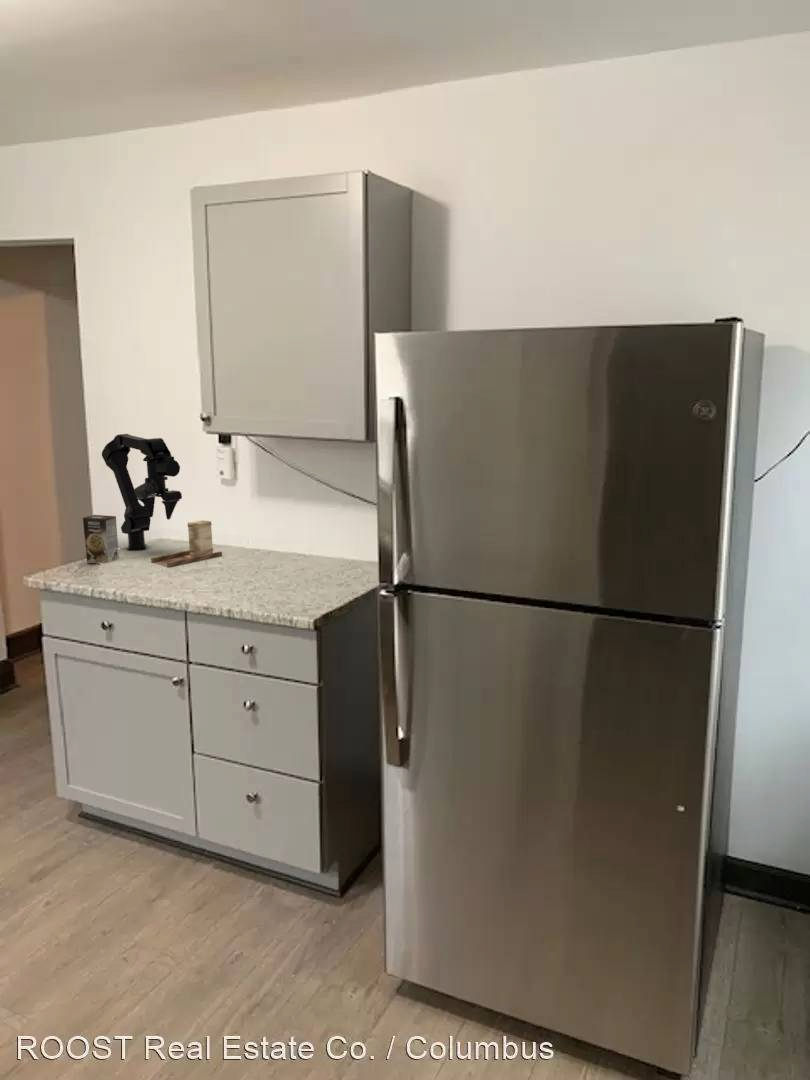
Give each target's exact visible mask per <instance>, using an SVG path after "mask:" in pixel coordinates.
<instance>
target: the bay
mask: <svg viewBox="0 0 810 1080" xmlns="http://www.w3.org/2000/svg"><path fill="white" fill-rule="evenodd" d="M189 550H190V549H189ZM189 550H184V551H180V552H175V553H174V552H173V553H169V554H165V555H160V556H155V557H150V562H151V563H152V564H154V565H159V566H162V567H165V568H169V569H170V568H174V567H180V566H184V565H189V564H192V563H198V562H201V561H206V560H207V561H208V560H210V559H212V560H213V559H216V558H220V557H223V551H217V552H213V553H211V554H206V555H201V556H197V557H190V552H189Z"/></svg>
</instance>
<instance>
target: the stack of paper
mask: <svg viewBox="0 0 810 1080" xmlns="http://www.w3.org/2000/svg"><path fill="white" fill-rule="evenodd" d="M186 525H187V530H188V532H187V533H188V545H189V552H190V557H197V556H201V555H206V554H211V553H214V547H213V532H212V531H213V530H212V525H213V524H212V521H211V520H203V519H198V520H192V521H188V522H187V524H186Z"/></svg>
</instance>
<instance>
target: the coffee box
mask: <svg viewBox="0 0 810 1080" xmlns="http://www.w3.org/2000/svg"><path fill="white" fill-rule="evenodd" d="M82 524H83V533H84V545H85V557H86V563H87V564H88V563H96V564H95V565H100V563H111V562H114V561H117V560H119V559H120V553H119V540H118V539H119V538H118V528H117V527H118V525H117V516H116V515H102V514H93V515H88V516H87V515H86V516H83V517H82Z"/></svg>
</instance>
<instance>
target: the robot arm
mask: <svg viewBox="0 0 810 1080" xmlns="http://www.w3.org/2000/svg"><path fill="white" fill-rule="evenodd" d="M131 449H134V450H138V451H140V453H141V454H142V455H144V456H145V457H144V458H143V459H142V461H143V462H146V469H147V470H146V471H147V477H145V479H144V482H143V483H142V484H140V485H138V486H137V487H134V485H133V482H132V479H131V476H130V473H129V470H128V462H129V453H130V452H131ZM101 456H102V459H103V461H104V463H105V466H107V467H108V468H109V469H110V470H111V471H112V473H113V474H114V478H115V480H116V483H117V487H118V488H119V492H120V495H121V498H122V501H123V503H124V506H125V510H124V514H123V517H124V521H123V523H122V525H121V526H120V530H121V533H122V534H125V535H127V540H128V547H126V551H134V550H145V549H147V546H148V544H146V539H145V532H147V531H150V525H151V518H153V516H154V512H155V510H154V509H155V502H156V497H157V498H161V499H162V501H161V504H163V505H164V509H165V517H166V519H167V520H171V519H172V515H173V513H174V510H175V508H176V506H177V504H178V502H180V500H182V498H183V493H182V492H181V491H180V490H174V489H173V490H172V489H171V490H169V488H168V487H166V486H167V485H166V480H168V477H177V476H178V475H179V473H180V471H181V466H180V464H179V462H178V461H177V460H175V456H172V453H171V451H170V450H169V448H168V446H167V444H166V442H165V441H164V439H163V438H161V437H155V438H144V437H140V436H136V435H131V434H128V433H123V434H117V435H115V436H114V437H113V439H112V440H111V441H109V442H108V443H106V444H105V446H104V448H103V449H102V451H101ZM140 502H141V503H142V504H143V505H142V504H141V503H140Z"/></svg>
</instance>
